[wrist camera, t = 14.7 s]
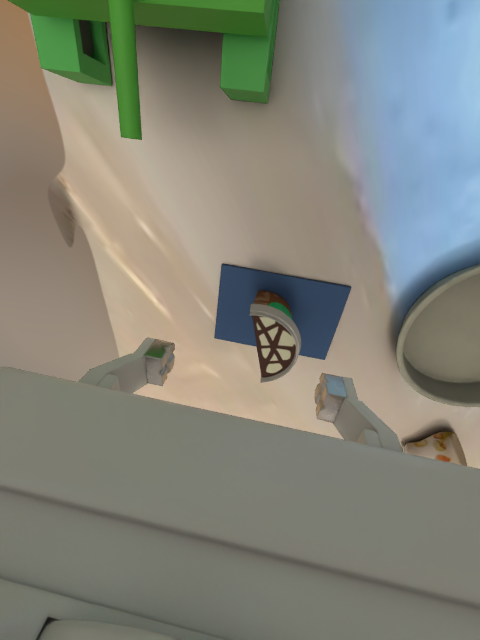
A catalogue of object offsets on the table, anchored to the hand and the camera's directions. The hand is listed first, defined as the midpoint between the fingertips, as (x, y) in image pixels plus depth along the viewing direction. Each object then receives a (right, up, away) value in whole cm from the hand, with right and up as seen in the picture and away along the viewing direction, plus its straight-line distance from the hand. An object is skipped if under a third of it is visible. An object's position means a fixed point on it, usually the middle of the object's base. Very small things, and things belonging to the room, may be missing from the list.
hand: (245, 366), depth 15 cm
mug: (+37, -22, +40) cm, 59 cm away
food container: (+6, +4, +30) cm, 31 cm away
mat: (+6, +4, +31) cm, 32 cm away
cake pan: (+36, +1, +27) cm, 45 cm away
